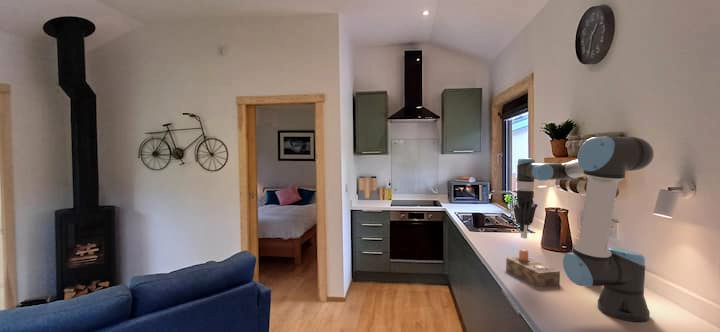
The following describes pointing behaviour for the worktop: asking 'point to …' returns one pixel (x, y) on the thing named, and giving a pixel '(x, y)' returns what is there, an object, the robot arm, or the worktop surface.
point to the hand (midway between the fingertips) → (523, 237)
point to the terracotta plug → (523, 255)
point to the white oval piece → (540, 267)
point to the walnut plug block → (533, 272)
